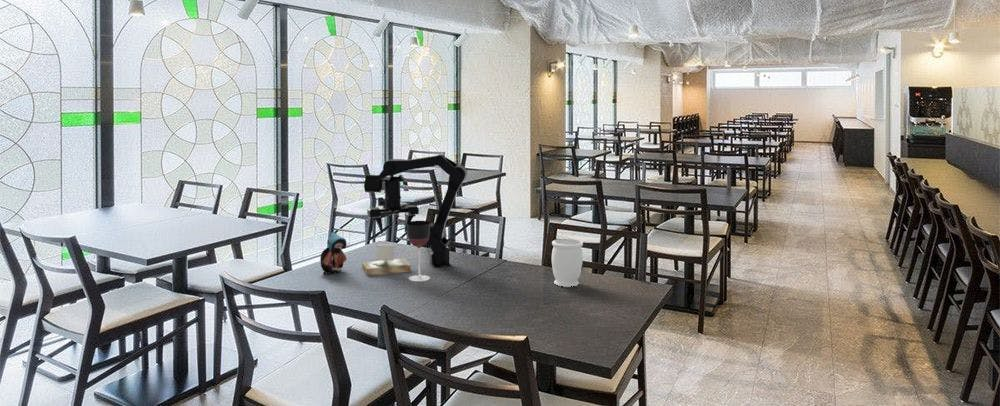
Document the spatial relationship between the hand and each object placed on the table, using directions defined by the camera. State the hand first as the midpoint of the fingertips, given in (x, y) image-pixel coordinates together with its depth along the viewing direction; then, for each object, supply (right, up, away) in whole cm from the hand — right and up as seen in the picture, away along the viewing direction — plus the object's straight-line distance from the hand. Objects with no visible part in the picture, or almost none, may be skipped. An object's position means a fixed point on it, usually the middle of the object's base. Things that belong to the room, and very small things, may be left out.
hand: (393, 233), depth 246 cm
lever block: (-2, -13, -7) cm, 15 cm away
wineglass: (+12, -15, -17) cm, 26 cm away
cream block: (-2, -11, -10) cm, 15 cm away
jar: (+64, -17, -23) cm, 70 cm away
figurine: (-20, -14, -10) cm, 26 cm away
